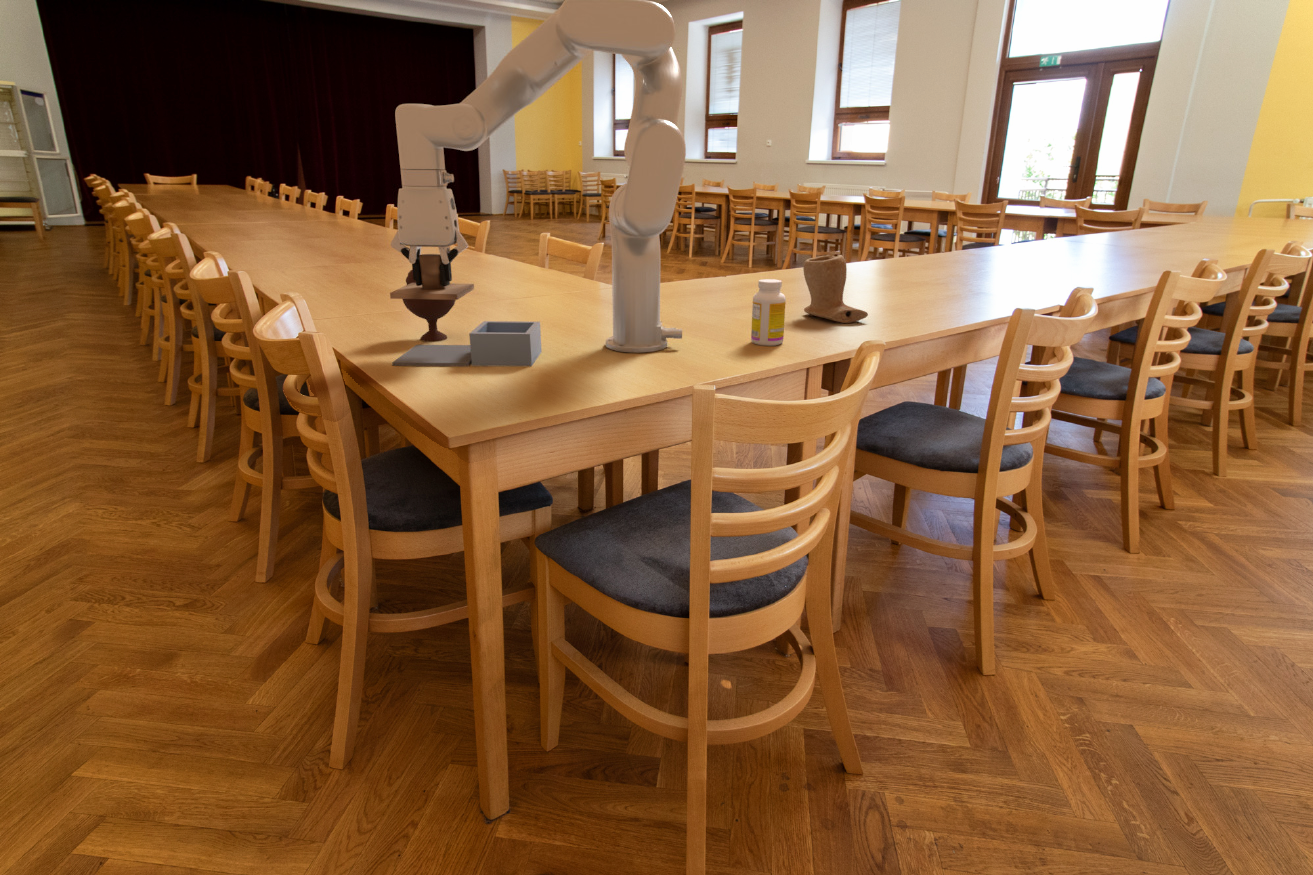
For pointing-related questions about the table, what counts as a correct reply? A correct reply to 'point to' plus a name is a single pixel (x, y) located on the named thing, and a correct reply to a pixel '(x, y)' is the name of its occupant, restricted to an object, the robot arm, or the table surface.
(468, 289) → the lid
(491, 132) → the robot arm
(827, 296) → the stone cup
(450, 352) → the mat
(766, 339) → the supplement bottle
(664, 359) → the table surface
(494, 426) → the table surface
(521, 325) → the open box
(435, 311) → the ice cream bowl
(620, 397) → the table surface
